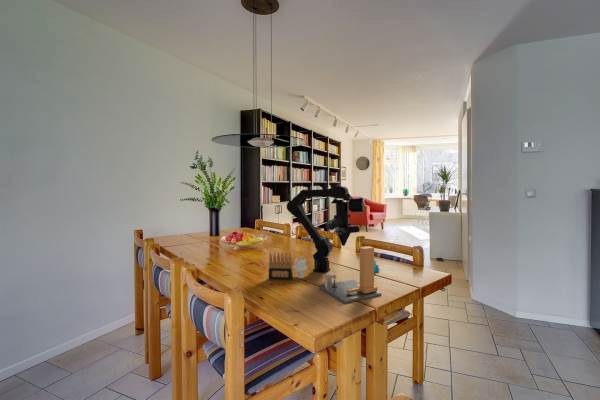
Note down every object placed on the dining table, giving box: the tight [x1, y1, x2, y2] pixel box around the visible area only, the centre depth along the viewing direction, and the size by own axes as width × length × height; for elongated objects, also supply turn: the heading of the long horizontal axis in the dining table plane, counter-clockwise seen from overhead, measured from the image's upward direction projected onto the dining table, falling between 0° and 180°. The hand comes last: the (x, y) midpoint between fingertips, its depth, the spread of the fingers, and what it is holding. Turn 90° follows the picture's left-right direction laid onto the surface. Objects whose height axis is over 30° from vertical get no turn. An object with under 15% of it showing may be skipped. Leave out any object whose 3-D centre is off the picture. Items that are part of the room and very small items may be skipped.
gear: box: [374, 260, 380, 273], centre depth 141 cm, size 11×6×10 cm
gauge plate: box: [319, 274, 382, 304], centre depth 113 cm, size 18×16×6 cm
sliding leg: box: [347, 245, 378, 294], centre depth 109 cm, size 5×12×16 cm, turn 116°
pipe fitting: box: [292, 257, 309, 279], centre depth 132 cm, size 6×7×8 cm
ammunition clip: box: [268, 252, 294, 281], centre depth 129 cm, size 11×2×12 cm, turn 82°
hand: (343, 245), depth 137 cm, fingers closed
